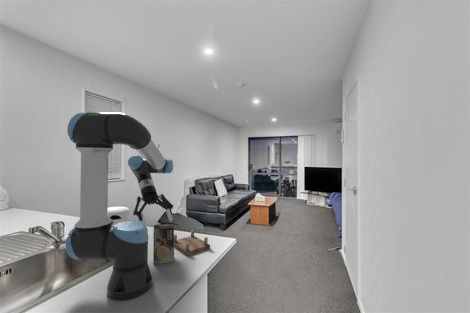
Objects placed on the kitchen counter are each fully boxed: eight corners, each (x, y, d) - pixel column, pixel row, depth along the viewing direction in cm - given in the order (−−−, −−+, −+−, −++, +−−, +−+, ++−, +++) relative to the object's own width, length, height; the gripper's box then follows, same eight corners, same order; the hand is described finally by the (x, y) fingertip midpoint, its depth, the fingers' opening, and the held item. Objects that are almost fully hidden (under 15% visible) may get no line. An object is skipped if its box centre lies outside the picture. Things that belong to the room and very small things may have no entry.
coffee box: (174, 256, 107) (174, 223, 107) (174, 262, 101) (174, 227, 100) (154, 258, 104) (154, 224, 104) (152, 264, 98) (153, 229, 98)
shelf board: (186, 256, 107) (186, 245, 107) (170, 244, 120) (171, 234, 120) (209, 248, 116) (210, 238, 116) (193, 238, 129) (193, 229, 129)
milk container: (131, 234, 134) (131, 205, 134) (129, 245, 118) (129, 212, 118) (98, 238, 127) (98, 207, 127) (91, 250, 111) (92, 215, 111)
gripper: (167, 191, 130) (178, 222, 119) (121, 195, 114) (130, 232, 103) (171, 183, 126) (183, 214, 115) (124, 186, 110) (133, 224, 99)
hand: (158, 223), depth 109 cm, fingers open, 13 cm apart
